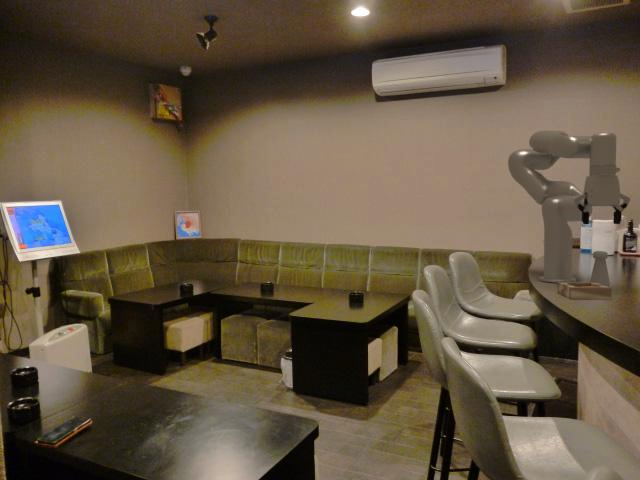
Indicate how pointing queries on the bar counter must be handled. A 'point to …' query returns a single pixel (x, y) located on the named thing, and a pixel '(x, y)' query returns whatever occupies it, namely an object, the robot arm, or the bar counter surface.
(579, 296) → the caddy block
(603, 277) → the salt shaker
